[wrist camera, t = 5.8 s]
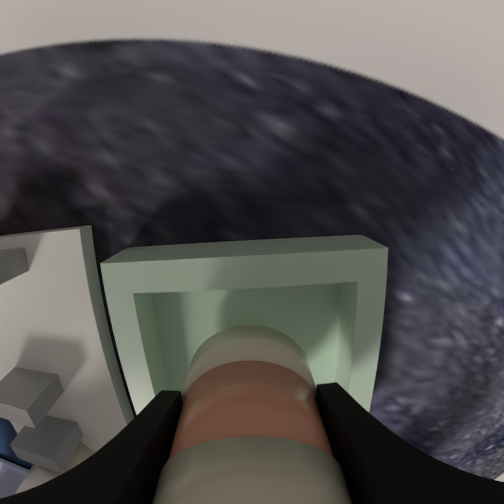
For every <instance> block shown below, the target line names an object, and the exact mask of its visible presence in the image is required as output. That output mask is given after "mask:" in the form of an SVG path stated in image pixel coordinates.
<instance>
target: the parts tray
mask: <svg viewBox="0 0 504 504" xmlns="http://www.w3.org/2000/svg"><path fill="white" fill-rule="evenodd" d="M387 264H388V248H387V247H385V246H383V245H381V244H379V243H377V242H375V241H373V240H371V239H369V238H367V237H365V236H363V235H344V236H322V237H302V238H282V239H263V240H245V241H227V242H209V243H192V244H176V245H160V246H144V247H128V248H126V249H124V250H122V251H120V252H119V253H117V254H115V255H114V256H112V257H110V258H109V259H107V260H105V261H104V262H102V263H100V265H101V272H102V278H103V284H104V289H105V295H106V300H107V305H108V310H109V315H110V319H111V324H112V328H113V333H114V337H115V341H116V345H117V349H118V353H119V357H120V361H121V365H122V368H123V372H124V376H125V379H126V383H127V386H128V389H129V393H130V396H131V399H132V402H133V405H134V409H135V412H136V415H138V414H139V413H140V412H141V411H142V410H143V408H144V407H145V406H146V405H147V404H148V403H149V402H150V401H151V400H152V399H153V398H154V397H155V396H156V395H157V394H158V393H159V392H160V391H161V390H172V391H181V394H182V392H183V388H184V385H185V381H186V378H187V374H188V371H189V368H190V364H191V361H192V358H193V356H194V354H195V352H196V351H197V349H198V348H199V347H200V346H201V344H202V343H203V342H204V341H206V340H207V339H208V338H209V337H211V336H212V335H214V334H216V333H218V332H220V331H222V330H225V329H228V328H232V327H236V326H244V325H256V326H264V327H268V328H272V329H274V330H277V331H280V332H282V333H284V334H285V335H287V336H289V337H290V338H291V339H293V340H294V341H295V342H296V343H297V344H298V345H299V346H300V348H301V349H302V350H303V352H304V354H305V355H306V358H307V360H308V363H309V366H310V369H311V373H312V376H313V379H314V382H315V385H316V386H317V384H325V383H333V382H337V383H338V384H339V385H340V386H341V387H343V388H344V389H345V390H346V391H347V392H348V393H349V394H350V395H351V396H352V397H353V398H354V399H355V400H356V401H357V402H358V403H359V404H360V405H361V406H362V407H363V408H364V409H365V410H367V411H368V412H369V409H370V404H371V399H372V394H373V388H374V382H375V376H376V370H377V364H378V357H379V350H380V342H381V334H382V325H383V316H384V306H385V294H386V281H387Z"/></svg>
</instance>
